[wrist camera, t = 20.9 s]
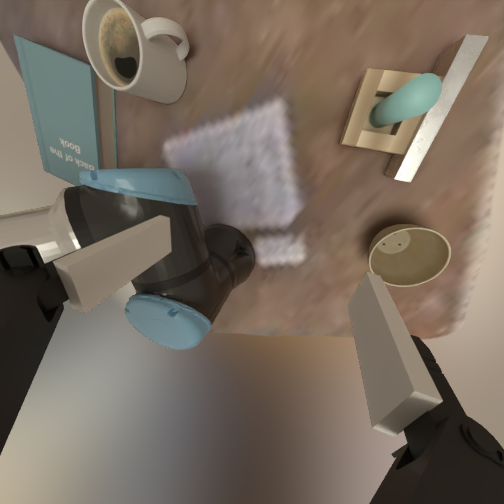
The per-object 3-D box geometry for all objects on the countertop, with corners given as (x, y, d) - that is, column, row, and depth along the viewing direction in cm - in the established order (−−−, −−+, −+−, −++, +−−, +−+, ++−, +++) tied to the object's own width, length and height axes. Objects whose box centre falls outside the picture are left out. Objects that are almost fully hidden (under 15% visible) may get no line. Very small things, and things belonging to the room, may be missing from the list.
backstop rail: (383, 174, 31) (394, 178, 27) (440, 54, 24) (466, 34, 20) (397, 177, 31) (410, 182, 27) (458, 56, 24) (489, 36, 19)
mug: (140, 94, 36) (85, 77, 27) (142, 20, 31) (75, -28, 22) (193, 116, 35) (153, 105, 27) (203, 44, 30) (159, 3, 22)
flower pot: (348, 237, 37) (355, 254, 31) (404, 200, 32) (425, 212, 26) (380, 273, 38) (393, 297, 32) (439, 244, 33) (467, 265, 27)
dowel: (364, 125, 28) (392, 113, 18) (375, 99, 27) (411, 70, 17) (386, 129, 28) (427, 119, 18) (398, 103, 26) (450, 76, 16)
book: (120, 193, 48) (100, 197, 44) (64, 167, 49) (40, 169, 45) (116, 75, 36) (89, 66, 32) (43, 45, 37) (8, 32, 33)
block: (339, 144, 31) (341, 143, 28) (361, 78, 27) (367, 68, 24) (393, 153, 30) (403, 154, 26) (425, 85, 26) (442, 76, 22)
